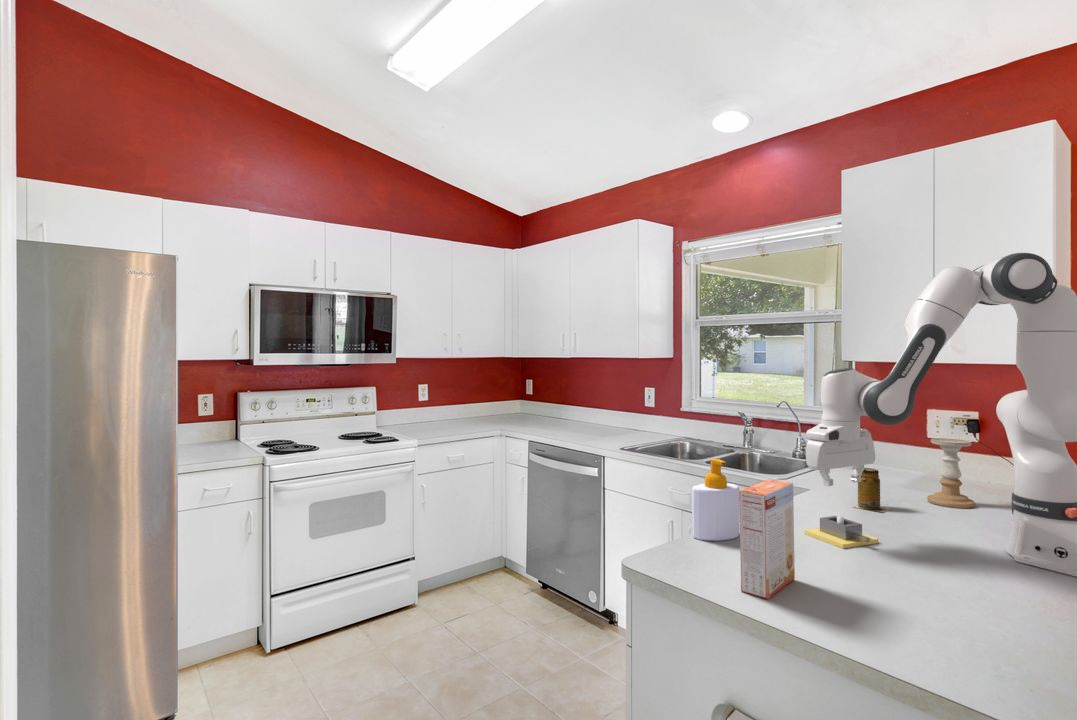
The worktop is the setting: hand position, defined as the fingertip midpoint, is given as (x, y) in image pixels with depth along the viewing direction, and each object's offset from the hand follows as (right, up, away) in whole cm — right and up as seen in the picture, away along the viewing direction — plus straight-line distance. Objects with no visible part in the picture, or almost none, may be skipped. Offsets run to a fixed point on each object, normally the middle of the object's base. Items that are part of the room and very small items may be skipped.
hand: (842, 483), depth 144 cm
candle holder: (+53, -14, +33) cm, 64 cm away
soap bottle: (-32, -15, +3) cm, 35 cm away
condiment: (+25, -14, +28) cm, 40 cm away
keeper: (0, -14, 0) cm, 14 cm away
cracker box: (-31, -15, -29) cm, 45 cm away
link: (0, -13, -2) cm, 13 cm away
